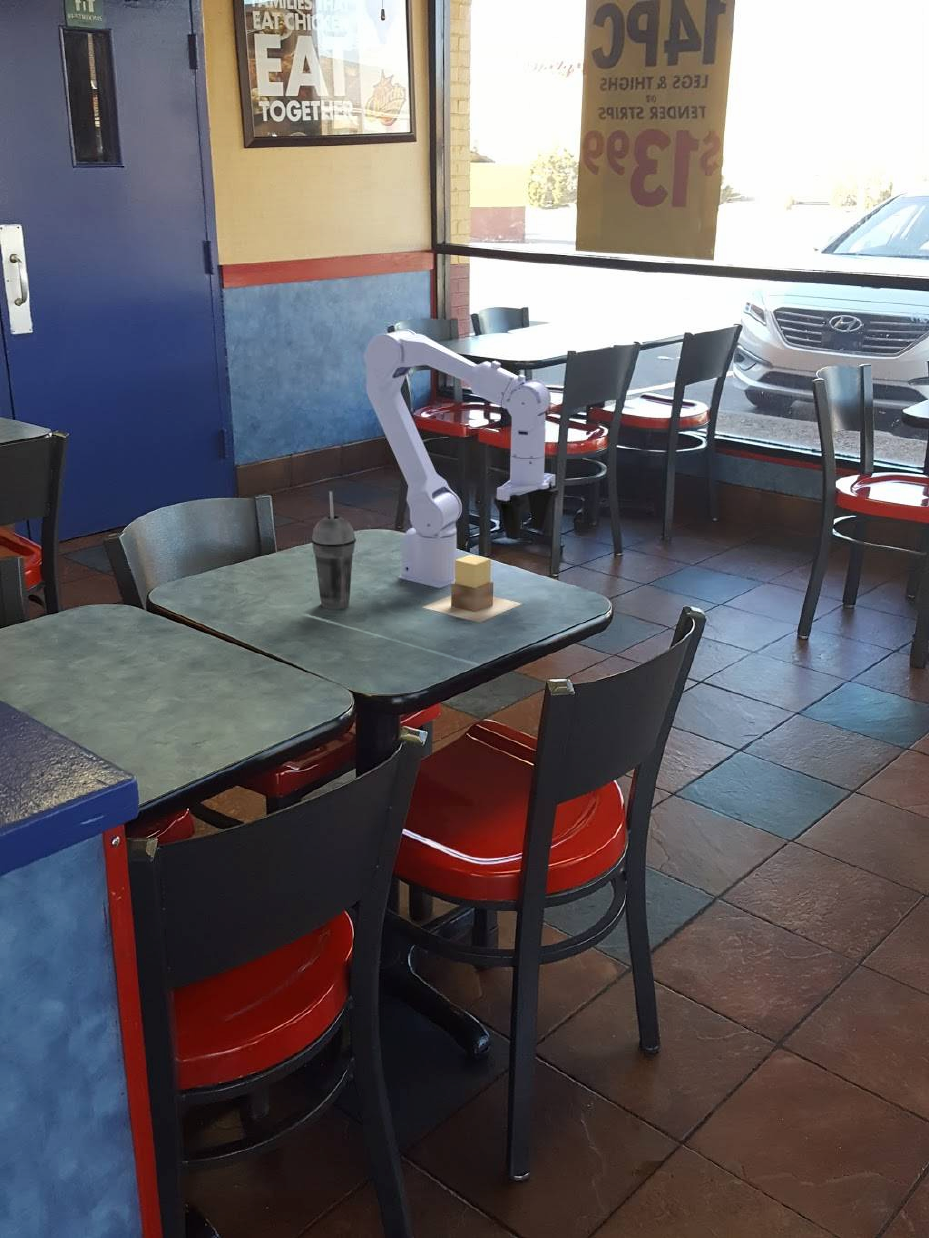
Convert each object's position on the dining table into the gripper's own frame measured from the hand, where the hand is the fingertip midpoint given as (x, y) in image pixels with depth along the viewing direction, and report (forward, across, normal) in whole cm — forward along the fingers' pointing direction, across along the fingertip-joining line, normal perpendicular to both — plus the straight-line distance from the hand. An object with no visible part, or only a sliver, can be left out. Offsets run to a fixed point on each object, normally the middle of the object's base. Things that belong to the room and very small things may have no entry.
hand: (525, 533), depth 206 cm
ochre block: (+6, -12, +2) cm, 14 cm away
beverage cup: (+11, -27, +20) cm, 35 cm away
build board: (+10, -12, +2) cm, 16 cm away
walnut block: (+10, -12, +2) cm, 16 cm away
